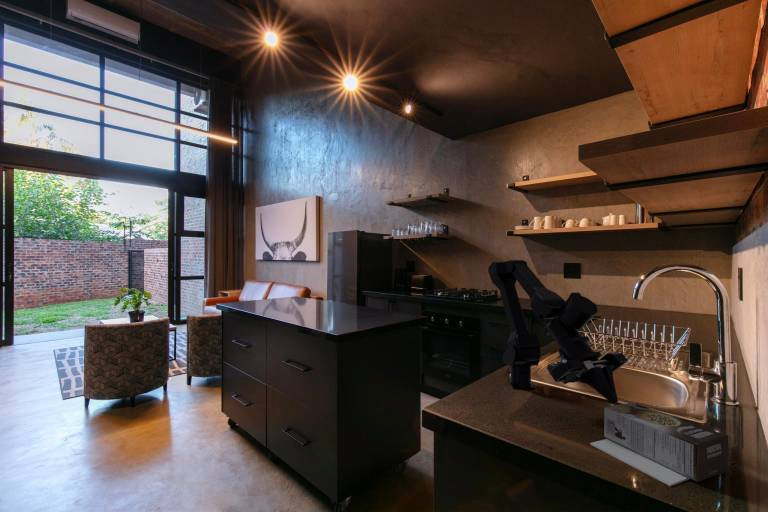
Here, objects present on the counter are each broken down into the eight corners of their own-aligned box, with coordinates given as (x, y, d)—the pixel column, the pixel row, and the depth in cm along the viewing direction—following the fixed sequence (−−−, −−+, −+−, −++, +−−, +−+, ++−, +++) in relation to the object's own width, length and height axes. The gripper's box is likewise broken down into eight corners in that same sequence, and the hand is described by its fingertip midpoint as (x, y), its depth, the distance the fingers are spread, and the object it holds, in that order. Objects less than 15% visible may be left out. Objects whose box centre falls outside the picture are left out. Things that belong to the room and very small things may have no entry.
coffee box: (632, 400, 75) (729, 434, 60) (632, 431, 75) (730, 472, 60) (603, 406, 72) (698, 443, 57) (603, 438, 71) (699, 484, 56)
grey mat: (590, 444, 69) (590, 443, 69) (636, 432, 75) (636, 431, 75) (670, 486, 56) (670, 484, 56) (719, 468, 62) (719, 466, 62)
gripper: (576, 354, 93) (618, 412, 83) (522, 361, 86) (560, 425, 76) (605, 330, 86) (654, 390, 75) (548, 335, 79) (594, 402, 68)
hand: (615, 403), depth 74 cm, fingers closed
